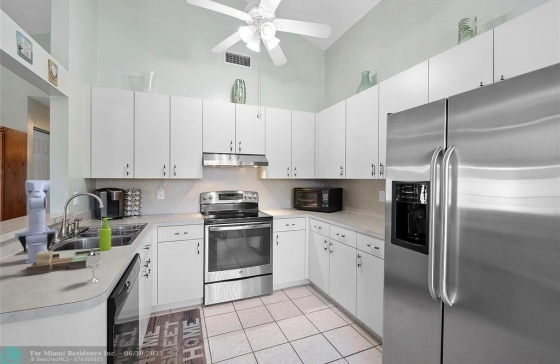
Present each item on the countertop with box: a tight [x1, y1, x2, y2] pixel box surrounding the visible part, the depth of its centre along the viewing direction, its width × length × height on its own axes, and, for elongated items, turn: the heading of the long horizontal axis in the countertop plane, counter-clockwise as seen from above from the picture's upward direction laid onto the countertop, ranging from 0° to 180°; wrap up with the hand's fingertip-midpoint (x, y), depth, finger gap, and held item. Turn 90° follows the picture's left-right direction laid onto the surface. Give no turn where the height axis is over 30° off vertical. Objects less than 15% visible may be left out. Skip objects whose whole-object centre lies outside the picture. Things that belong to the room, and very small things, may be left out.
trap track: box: [25, 248, 95, 277], centre depth 127 cm, size 19×23×4 cm
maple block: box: [36, 250, 53, 265], centre depth 123 cm, size 5×5×5 cm
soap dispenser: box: [99, 217, 113, 252], centre depth 155 cm, size 6×7×20 cm
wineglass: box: [86, 252, 103, 284], centre depth 110 cm, size 6×6×12 cm
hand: (36, 250), depth 118 cm, fingers open, 7 cm apart
